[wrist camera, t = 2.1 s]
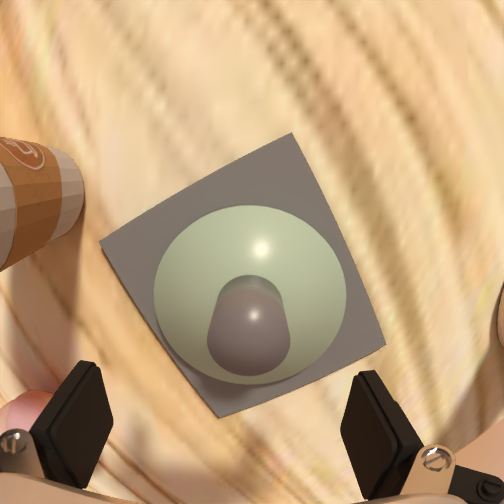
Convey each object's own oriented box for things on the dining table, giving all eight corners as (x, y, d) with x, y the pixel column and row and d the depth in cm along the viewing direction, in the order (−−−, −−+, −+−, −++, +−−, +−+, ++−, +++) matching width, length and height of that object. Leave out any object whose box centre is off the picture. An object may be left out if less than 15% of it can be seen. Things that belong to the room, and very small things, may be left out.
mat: (383, 340, 22) (386, 344, 21) (219, 413, 23) (219, 417, 23) (290, 133, 18) (291, 132, 18) (102, 240, 20) (98, 241, 19)
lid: (366, 330, 21) (395, 374, 15) (216, 397, 22) (209, 449, 17) (292, 169, 18) (307, 167, 13) (124, 261, 20) (86, 290, 14)
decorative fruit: (69, 442, 25) (33, 506, 15) (16, 386, 23) (-34, 443, 14) (122, 423, 24) (85, 506, 14) (60, 355, 22) (-3, 427, 13)
